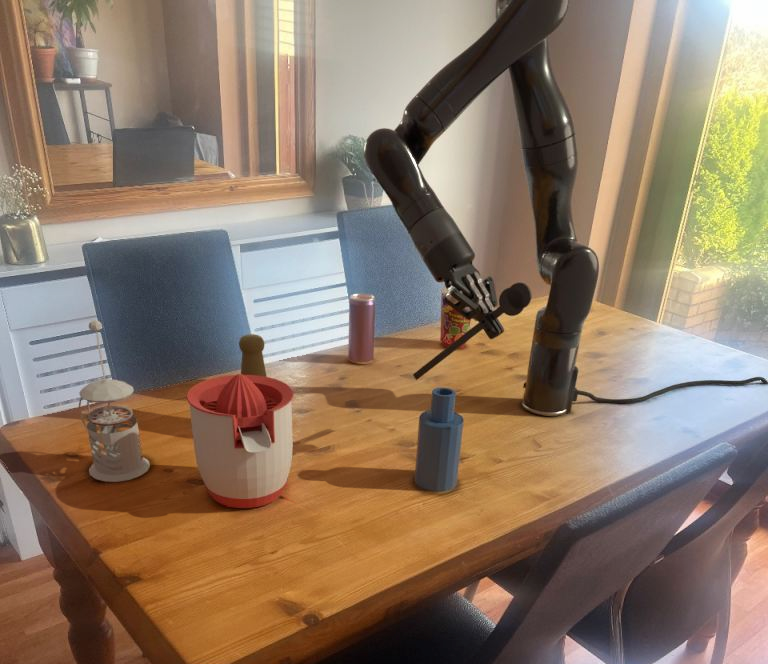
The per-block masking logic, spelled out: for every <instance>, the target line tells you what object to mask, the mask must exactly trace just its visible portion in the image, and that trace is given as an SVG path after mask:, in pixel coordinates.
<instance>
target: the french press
mask: <svg viewBox="0 0 768 664" xmlns="http://www.w3.org/2000/svg"><path fill="white" fill-rule="evenodd" d="M88 329H89V330H91V331H95V335H96V336H95V337H96V342H97V347H98V353H99V359H100V364H101V372H102V377H103V379H98V380H96V381H95V380H94V381H93V382H90V383H88V384H87V385H85V386H83V387H82V389H81V390H80V391H79V392H78V393H79V397H80V398H79V402H78V411H79V416H80V418H81V421H82V423H83V424H82V425H83V426H84V428H85V430H87V434H88V439H89V442H90V444H89V445H90V450H91V455H92V461H93V463H92V464H91V466H90V467H89V469H88V472H89V476H90V477H92V478H94V479H95V480H98V481H101V482H110V483H111V482H112V483H119V482H125V481H131V480H133V479H136V478H139V477H140V476H142V475H144V474H145V473H147V472H148V471H149V469H150V467H151V464H150V461H149V460H148V459H146V458H145V457H144V456H143V451H142V444H141V437H140V430H139V424H138V420H137V418H136V417H135V416H134V415H135V412H134V410H133V409H131V408H129V406H122V405H111V404H110V403H117V402H121V401H124V400H127V399H128V398H130V397H131V396H132V395H133V394H134V387H133V386H132V385H131V384H128V383H127V382H125V381H123V380H118V379H107V378H106V374H105V369H104V368H105V367H104V363H103V357H102V350H101V346H100V340H99V334H98V331H99V330H101V329H103V324H102V323H101V322H100V321H99V320H96V319H95V320H91V321H90V322H88ZM82 400H85V401H86V405H87V406H86V407H87V411H88V414H87V416H86V419H87V421H88V422H87V424H86V422H85V420H84V416H83V413H82V409H81V405H82ZM92 403H95V404H107V406H103V407H97V408H95V409H93V410H91V408H90V404H92ZM128 422H131V423H132V424H130V423H128ZM98 426H99V427H98ZM121 428H128V429H124V430H119V429H121ZM117 430H119V431H117ZM98 431H99V432H98ZM100 444H102V445H103V447H102V446H101V445H100ZM102 452H103V453H102Z"/></svg>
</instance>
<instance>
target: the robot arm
mask: <svg viewBox="0 0 768 664" xmlns="http://www.w3.org/2000/svg"><path fill="white" fill-rule="evenodd" d="M570 1H571V0H495V6H494V9H495V10H494V12H495V21H494V23H493V24H492V25H491V26H490V27H489V28H488V29H487V30H486V31H485V32H484V33H483V34H482V35H481V36H480V37H479V38H478V39H476V41H475V42H473V43H472V44H471V45H470V46H469V47H467V48H466V49H465V50H464V51H462V52H461V53H460V54H459V55H457V56H455V58H453V59H452V60H450V62H448V63H447V64H446V65H444V66H443V67H442V68H441V69H440V70H439V71H438V72H437V73H436V74H434V75H433V76H432V77H431V79H429V81H428V82H427V83H425V84H424V86H423V87H422V88H421V89H420V90H419V91H418V92H417V93H416V94H415V95H414V97H412V98H411V99H410V101H409V102H408V104H407V105H406V106H405V108H404V110H403V114H402V118H401V121H400V122H399V123H398V125H397V126H396V127H395V128H394V130H393V129H392V128H387V127H383V128H378V129H376V130H373V131H372V132H371V133H370V134H369V135H368V137H367V138H366V139H365V142H364V145H363V159H364V163H365V166H366V168H367V170H368V173H369V176H370V177H371V179H372V181H373V182H374V183H375V184H376V185H377V186H379V187H381V189H382V190H383V192H384V193H385V195H386V197H388V200H389V201H390V203H391V205H392V208H393V210H394V212H395V214H396V217H397V218H398V220H399V222H400V223H401V225H402V226H403V228H404V230H405V232H406V233H407V234H408V236H409V238H410V241H411V242H412V245H413V247H414V249H415V250H416V252H417V253H418V255H419V256H420V258H421V260H422V261H423V263H424V264H425V266H426V267H427V269H428V271H429V272H430V273H431V276H432V277H433V279H434V280H435V282H437V283H444V285H445V286H446V288H447V289H448V294H447V295H446V296H445V297H444V298H443V300H444V302H445V303H447V304H448V305H449V306H451V307H452V308H453V309H454V310H456V311H457V312H458V313H460V314H461V315H462V316H464V317H465V318H466V319H467V320H474V321H475V322H478V323H480V325H481V326H482V328H483V329H482V330H483V331H484V333H485V335H486V336H487V337H488V339H489V340H493V339H496V338H498V337H499V336H501V335H502V334H503V333H505V327H504V326H503V325H502V323H501V322H500V320H499V317H498V318H497V319H495V320H494V319H493V317H492V316H491V313H492V312H493V311H494V310H496V309H495V307H497V306H498V304H499V302H498V298H497V293H496V288H495V287H496V286H495V282H494V279H493V277H492V276H490V275H489V276H488V277H486V278H485V277H483V276H481V273H480V271H479V270H478V269H477V268H476V267H475V266H474V264H473V261H474V259H475V257H476V254H475V252H474V250H473V248H472V247H471V245H470V244H469V242H468V240H467V239H466V237H465V236H464V234H463V232H462V231H461V229H460V228H459V226H458V224H457V223H456V221H455V220H454V218H453V217H452V216H451V214H450V213H449V212H448V211H447V209H446V208H445V207H444V205H443V204H442V202H441V200H440V199H439V197H438V195H437V194H436V192H435V191H434V189H433V188H432V187H431V185H430V184H429V183H428V181H427V179H426V178H425V177H424V174H423V172H422V170H421V168H420V166H419V164H420V163H421V162H422V161H423V160H424V158H425V156H426V155H427V153H428V152H429V150H430V149H431V147H432V145H433V144H434V143H435V142H436V141H437V140H438V139H439V138H440V137H441V136H442V135H443V134H444V133H445V132H446V131H447V130H448V129H449V128H450V127H451V126H452V125H453V124H454V123H455V121H457V119H458V118H460V116H461V115H462V114H463V113H464V112H465V111H466V110H467V109H468V108H469V107H470V106H471V104H473V103H474V101H475V100H476V99H477V98H478V97H479V96H480V95H481V94H483V92H485V90H486V89H488V87H490V86H491V84H493V83H494V82H495V81H496V80H497V79H498V78H499V77H500V76H502V74H503V73H505V71H507V70H508V73H509V78H510V83H511V89H512V96H513V102H514V109H515V116H516V121H517V127H518V133H519V143H520V149H521V155H522V162H523V167H524V172H525V176H526V182H527V189H528V194H529V200H530V205H531V210H532V215H533V221H534V231H535V233H534V235H535V252H536V253H535V254H536V267H537V270H538V271H537V272H538V274H539V277H540V279H541V280H542V281H543V282H544V283H545V284H546V285H547V286H548V287H549V293H548V298H547V303H546V305H545V306H543V307H541V308H539V309H538V310H537V312H536V314H535V321H534V327H533V334H532V341H531V345H530V346H531V347H530V352H529V360H528V365H527V366H528V367H527V372H526V379H525V382H524V383H523V386H522V389H523V390H524V391H523V397H522V398H523V399H522V401H521V406H522V408H523V409H524V410H525V411H527V412H529V413H531V414H534V415H538V416H542V417H543V416H544V417H557V416H562V415H565V414H569V413H571V412H572V407H573V402H577V400H578V396H583V397H587V398H589V399H590V400H592V401H594V402H597V403H603V404H633V403H640V402H645V401H647V400H649V399H651V398H654V397H657V396H659V395H662V394H664V393H667V392H669V391H672V390H673V391H674V390H676V389H680V388H684V387H689V386H691V387H692V386H701V385H727V386H728V385H729V386H730V385H734V386H735V385H736V386H737V385H740V386H741V385H746V384H750V383H754V382H761V383H763V384H764V385H768V380H767V379H766V378H765V377H762V376H754V377H751V378H748V379H742V380H722V379H708V380H706V379H705V380H703V379H702V380H692V381H687V382H680V383H676V384H671V385H669V386H666V387H663V388H662V389H659V390H655V391H653V392H651V393H649V394H646V395H644V396H640V397H633V398H603V397H598V396H595V394H593V393H591V392H589V391H585V390H579V389H578V388H577V387H576V385H577V380H578V374H579V367H578V366H577V365H576V364H577V358H578V353H579V349H580V343H581V338H582V332H583V327H584V323H585V321H586V320H587V318H588V316H589V315H590V312H591V309H592V304H593V301H594V296H595V293H596V288H597V284H598V280H599V273H600V261H599V257H598V255H597V253H596V252H595V250H594V249H592V248H591V247H589V246H587V245H586V244H583V243H582V242H579V241H578V238H577V233H576V231H575V226H574V220H573V219H574V218H573V212H572V202H573V194H574V190H575V186H576V181H577V176H578V169H579V152H578V144H577V135H576V128H575V122H574V119H573V115H572V112H571V110H570V107H569V105H568V103H567V100H566V98H565V96H564V94H563V91H562V89H561V87H560V85H559V83H558V80H557V78H556V76H555V72H554V70H553V65H552V62H551V54H550V46H549V37H550V36H551V35H552V34H554V33H555V32H556V31H558V29H559V28H560V27H561V25H562V23H563V22H564V21H565V18H566V16H567V14H568V11H569V7H570ZM468 311H469V312H468ZM760 380H761V381H760Z"/></svg>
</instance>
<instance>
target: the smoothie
mask: <svg viewBox="0 0 768 664" xmlns="http://www.w3.org/2000/svg"><path fill="white" fill-rule="evenodd" d="M440 292H441V296H440V297H441V299H440V302H441V303H440V305H441V306H440V342H441V345H442V346H443V347H445V349H446V348H447V347H448V346H450V345H451V344H452V343H454V342H455V341H456V340H457V339H459V338H460V337H461V336H463V335H464V334H465V333H466V332H468V331H469V330H470V326H471V320H472V319H471V320H467V319H466V318H465V317H464V316H462V315H461V314H460V313H458V312H457V311H456V310H454V309H453V308H452V307H451V306H449V305H448V304H447V303H445V302H444V300H443V298H444V297H445V296H446V295H447V294H448V289H447V288H446V286H445V284H444V285H443V287H442V288H441V290H440ZM468 312H469V311H468ZM466 343H467V342H465V343H464V344H463V345H462V346H460V347H459V348H458V349H457V350H460V349H463V348H465V345H466Z"/></svg>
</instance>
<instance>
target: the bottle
mask: <svg viewBox="0 0 768 664" xmlns="http://www.w3.org/2000/svg"><path fill="white" fill-rule="evenodd" d="M456 394H457V393H456V391H455V390H454V389H452V388H449V387H436V388H433V389H432V390H431V399H430V400H431V401H430V410H425V411H423V412H421V413H420V415H419V418H418V427H417V428H418V429H417V431H418V432H417V440H416V442H417V443H416V455H415V456H416V457H415V458H416V459H415V468H414V469H415V470H414V482H415V484H416V485H417V486H418V487H419V488H420V489H422V490H425V491H429V492H435V493H443V492H447V491H451V490H453V489H454V488H455V487H456V486H457V485H458V477H459V468H460V458H461V450H462V440H463V431H464V422H465V419H464V417H463V416H462V415H461V414H459V413H458V412H455V404H456V397H457V395H456Z"/></svg>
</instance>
